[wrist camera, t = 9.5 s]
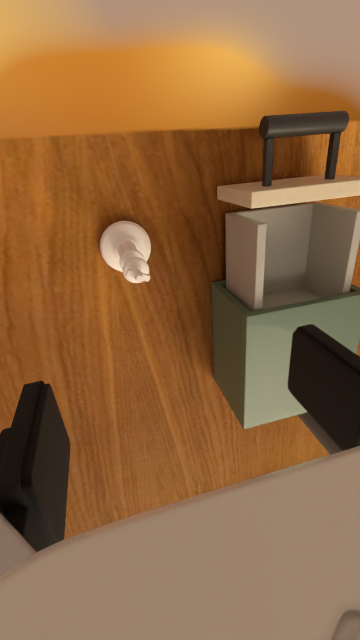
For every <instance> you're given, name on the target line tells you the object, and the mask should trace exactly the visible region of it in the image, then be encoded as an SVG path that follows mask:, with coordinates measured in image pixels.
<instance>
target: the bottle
mask: <svg viewBox="0 0 360 640" xmlns="http://www.w3.org/2000/svg"><path fill="white" fill-rule="evenodd" d="M298 416H299V417H300V419H301V420H302V421H303V422H304V423H305V425H306V426H307V427H308V428H309V430H310V431H311V432H312V433H313V434H314V436H315V437H316V438H317V439H318V440H319V442H320V443H321V444H322V445H323V446H324V448H325V449H326V450H327V451H328V453H329V454H330V455H331V454H334V453H338V452H341V451H342V450H341V449H340V448H339V447H338V446H337V445H336V443H335V442H334V441H333V440H332V439H331V438H330V437H329V436H328V434H327V433H326V432H325V431H324V430H323V429H322V428H321V427H320V425H319V424H318V423H317V422H316V421H315V420H314V419H313V418H312V416H311V415H310V414H309V413H308V412H306V413H303V414H299V415H298Z"/></svg>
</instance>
